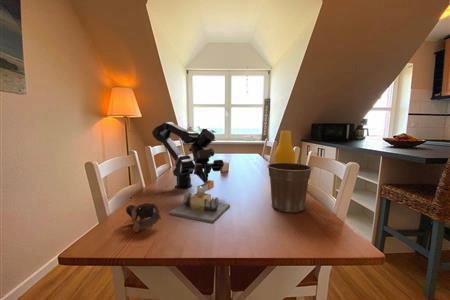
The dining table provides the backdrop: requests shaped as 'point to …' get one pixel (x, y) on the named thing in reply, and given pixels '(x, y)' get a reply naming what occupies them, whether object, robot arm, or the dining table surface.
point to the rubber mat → (200, 212)
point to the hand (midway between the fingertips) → (206, 183)
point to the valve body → (201, 202)
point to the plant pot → (289, 186)
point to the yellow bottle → (284, 149)
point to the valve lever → (205, 187)
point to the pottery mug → (143, 215)
